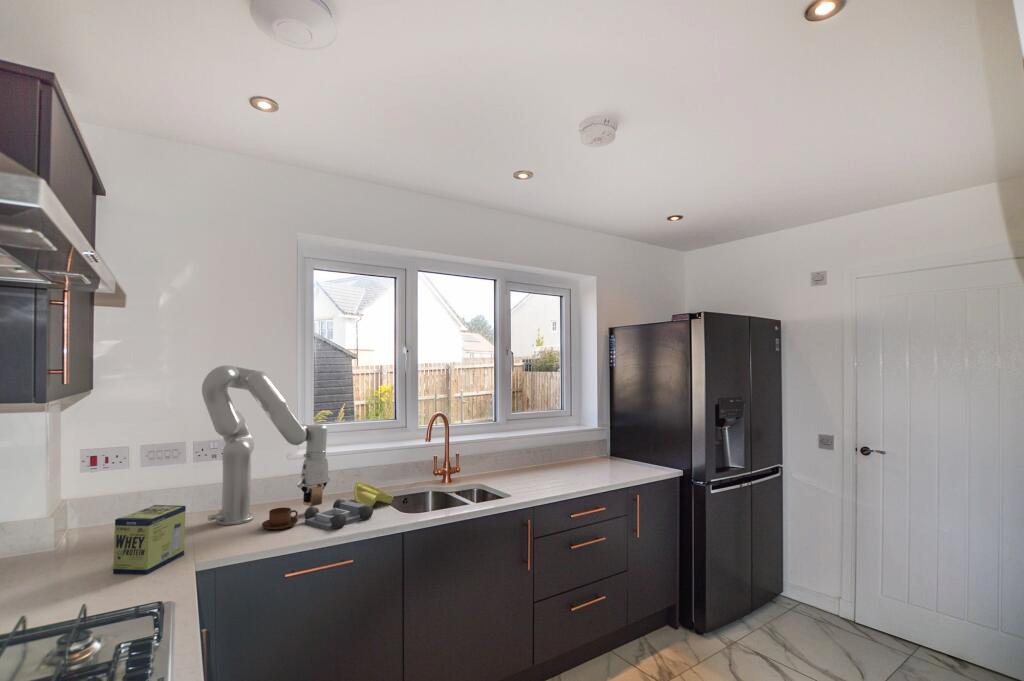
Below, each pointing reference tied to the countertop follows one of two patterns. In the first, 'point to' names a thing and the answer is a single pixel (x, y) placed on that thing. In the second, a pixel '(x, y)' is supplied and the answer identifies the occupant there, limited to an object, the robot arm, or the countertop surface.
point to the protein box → (148, 539)
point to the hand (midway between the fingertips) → (312, 500)
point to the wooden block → (315, 495)
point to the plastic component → (370, 494)
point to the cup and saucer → (280, 519)
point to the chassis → (338, 514)
